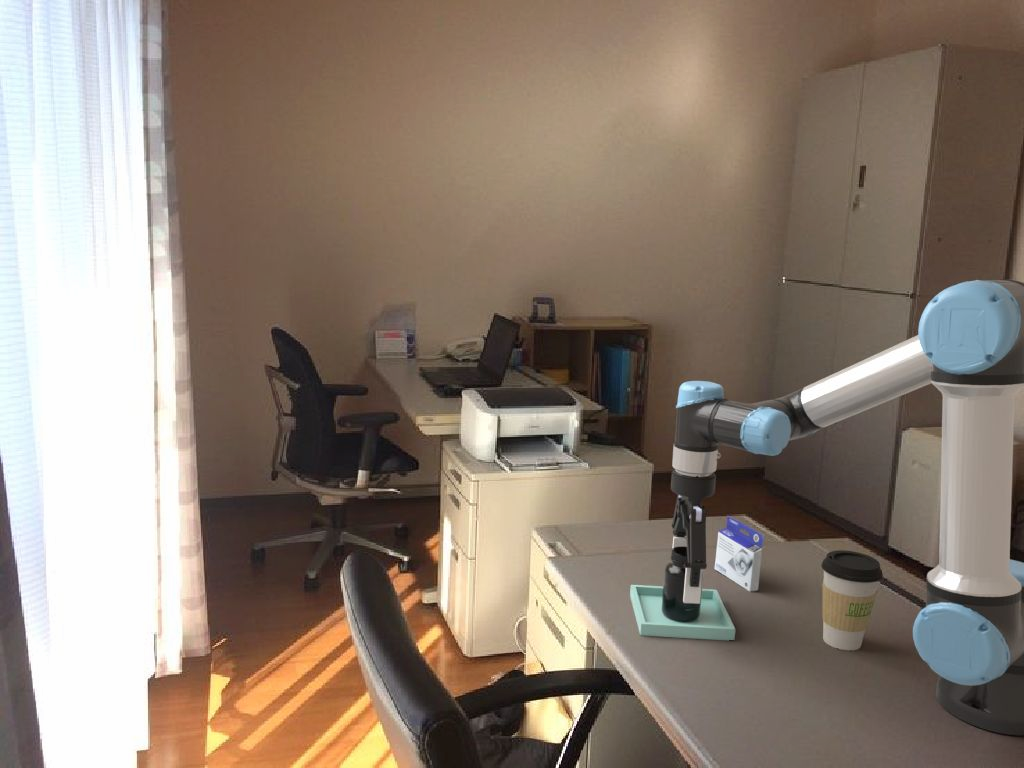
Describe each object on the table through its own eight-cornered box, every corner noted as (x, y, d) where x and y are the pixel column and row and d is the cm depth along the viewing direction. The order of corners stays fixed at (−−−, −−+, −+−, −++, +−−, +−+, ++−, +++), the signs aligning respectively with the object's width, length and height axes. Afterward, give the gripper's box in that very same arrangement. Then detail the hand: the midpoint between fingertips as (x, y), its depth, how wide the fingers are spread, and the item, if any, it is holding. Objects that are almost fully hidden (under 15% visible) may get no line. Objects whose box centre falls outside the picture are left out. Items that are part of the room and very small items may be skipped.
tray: (734, 640, 155) (735, 629, 155) (640, 635, 155) (641, 623, 155) (715, 600, 171) (716, 589, 170) (629, 595, 171) (630, 584, 170)
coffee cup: (877, 659, 151) (889, 575, 148) (815, 650, 153) (826, 567, 150) (867, 632, 161) (878, 552, 158) (809, 625, 162) (819, 545, 159)
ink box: (712, 569, 185) (718, 515, 183) (722, 568, 186) (727, 514, 184) (749, 593, 175) (756, 536, 172) (759, 591, 176) (765, 535, 173)
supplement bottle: (697, 607, 166) (703, 545, 163) (701, 624, 159) (707, 560, 157) (659, 604, 166) (665, 542, 164) (661, 621, 160) (667, 556, 157)
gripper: (731, 493, 145) (720, 618, 149) (702, 452, 170) (693, 560, 174) (684, 491, 145) (674, 615, 149) (661, 450, 170) (653, 558, 174)
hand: (684, 586), depth 161 cm, fingers open, 13 cm apart
